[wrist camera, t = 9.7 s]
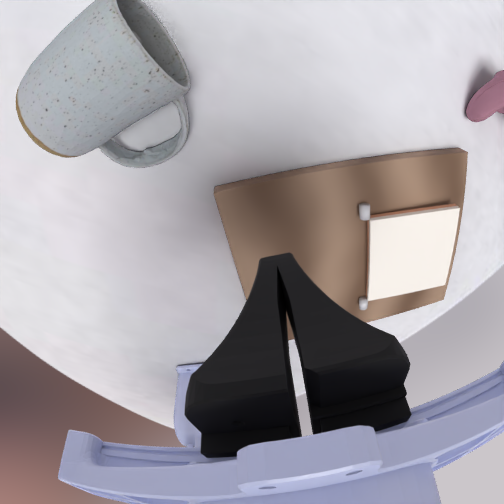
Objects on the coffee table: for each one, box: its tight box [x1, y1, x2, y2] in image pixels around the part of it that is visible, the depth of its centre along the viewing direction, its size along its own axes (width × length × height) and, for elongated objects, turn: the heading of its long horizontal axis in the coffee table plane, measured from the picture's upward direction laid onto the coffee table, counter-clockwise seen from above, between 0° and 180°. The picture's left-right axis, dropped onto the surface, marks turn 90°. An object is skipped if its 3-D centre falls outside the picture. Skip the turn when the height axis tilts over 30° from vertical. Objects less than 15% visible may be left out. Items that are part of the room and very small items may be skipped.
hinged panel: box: [359, 203, 460, 310], centre depth 22 cm, size 9×10×1 cm
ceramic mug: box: [16, 0, 190, 168], centre depth 13 cm, size 11×8×8 cm
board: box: [214, 148, 468, 340], centre depth 23 cm, size 20×16×1 cm
